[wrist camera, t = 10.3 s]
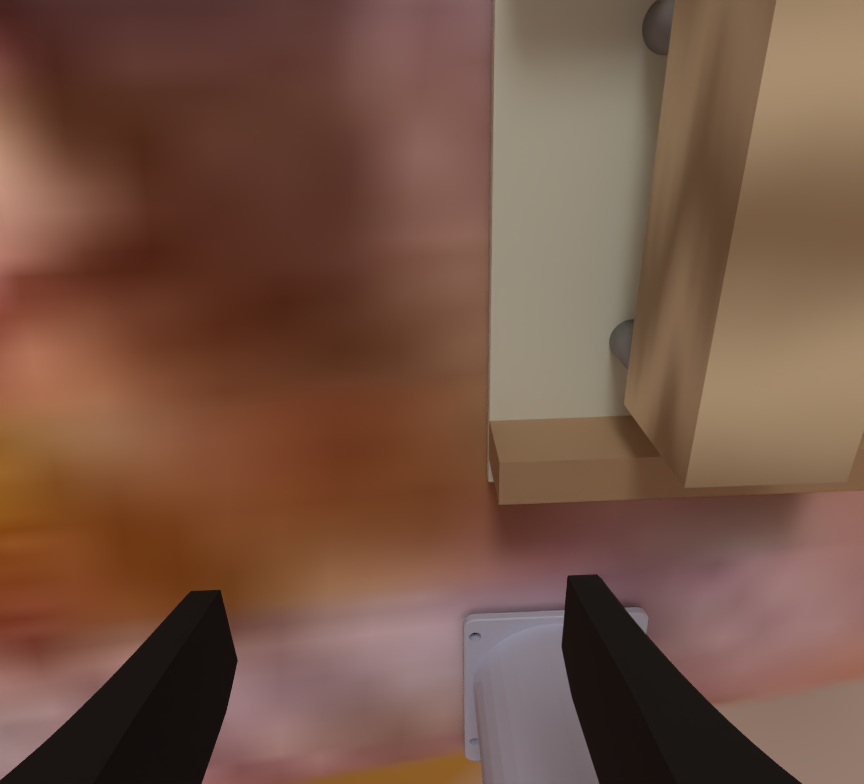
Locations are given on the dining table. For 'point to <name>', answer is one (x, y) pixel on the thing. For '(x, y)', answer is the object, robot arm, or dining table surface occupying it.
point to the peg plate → (576, 251)
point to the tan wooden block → (755, 247)
